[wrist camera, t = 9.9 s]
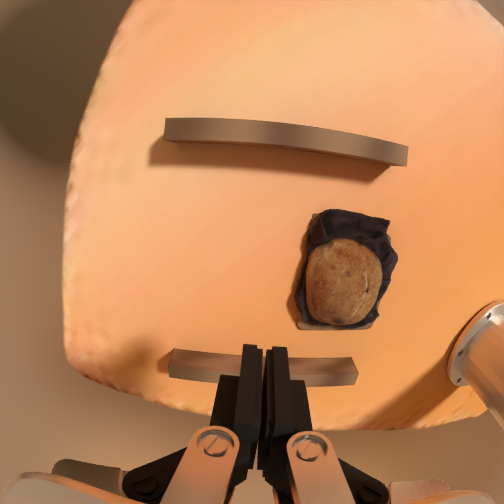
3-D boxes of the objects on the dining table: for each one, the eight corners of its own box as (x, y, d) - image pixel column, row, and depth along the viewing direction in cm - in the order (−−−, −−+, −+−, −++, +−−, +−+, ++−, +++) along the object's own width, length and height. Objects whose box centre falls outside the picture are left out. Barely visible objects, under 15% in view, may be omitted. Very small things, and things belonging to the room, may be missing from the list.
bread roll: (372, 325, 25) (387, 347, 21) (287, 325, 25) (292, 349, 21) (397, 216, 22) (419, 225, 18) (303, 204, 21) (313, 212, 18)
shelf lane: (392, 147, 19) (408, 146, 17) (347, 368, 26) (354, 384, 23) (175, 123, 19) (165, 118, 17) (175, 360, 25) (169, 377, 23)
